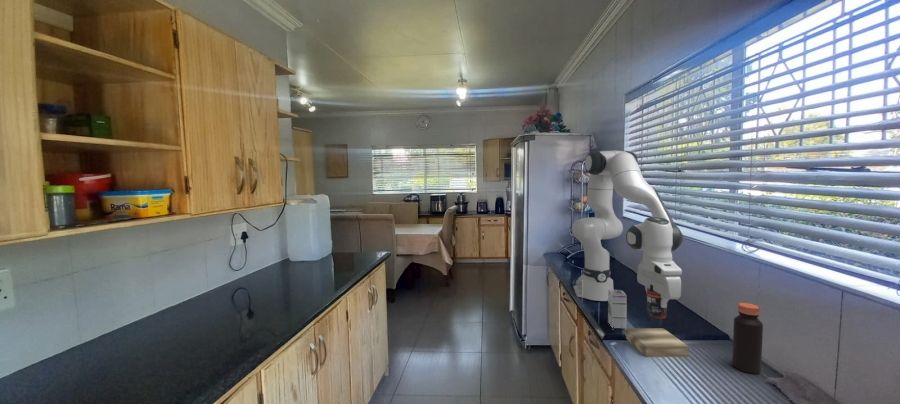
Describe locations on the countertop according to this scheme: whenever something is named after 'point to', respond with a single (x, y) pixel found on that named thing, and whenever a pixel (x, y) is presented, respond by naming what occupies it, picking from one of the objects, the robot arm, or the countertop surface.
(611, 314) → the syrup box
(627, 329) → the beech block
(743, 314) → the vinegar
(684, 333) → the countertop surface
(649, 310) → the supplement bottle
